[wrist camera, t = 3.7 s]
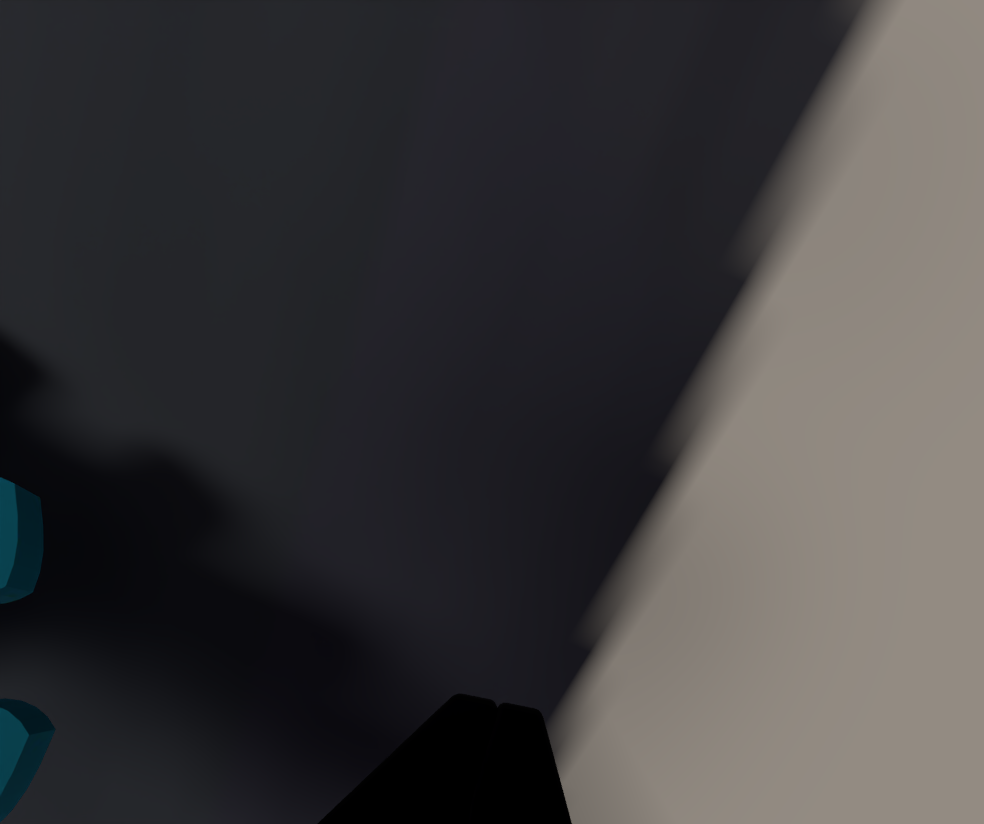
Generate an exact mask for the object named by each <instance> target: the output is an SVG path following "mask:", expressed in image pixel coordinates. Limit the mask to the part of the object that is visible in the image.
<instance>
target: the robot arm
mask: <svg viewBox="0 0 984 824" xmlns="http://www.w3.org/2000/svg"><path fill="white" fill-rule="evenodd" d="M318 824H572V823H571V819H570V815H569V812H568V808H567V804H566V800H565V797H564V793H563V789H562V785H561V782H560V778H559V774H558V770H557V767H556V763H555V759H554V755H553V752H552V748H551V744H550V740H549V737H548V733H547V729H546V725H545V722H544V718H543V716H542V714H541V712H540V711H539V710H537V709H534V708H530V707H525V706H520V705H515V704H510V703H502V704H500V705H499V706H498V708H497V706H496V704H495V702H494V701H493V700H490V699H485V698H480V697H475V696H470V695H466V694H456V695H454V696H452V697H451V698H450V699H449V700H448V701H447V702H446V703H445V704H444V705H442V706H441V707H440V708H439V709H438V710H437V711H436V712H435V713H434V714H433V715H432V716H431V717H430V718H429V719H428V720H427V721H426V722H424V723H423V724H422V725H421V726H420V727H419V728H418V729H417V730H416V731H415V732H414V733H413V734H412V735H411V736H410V737H409V738H408V739H407V740H405V741H404V742H403V743H402V744H401V745H400V746H399V747H398V748H397V749H396V750H395V751H394V752H393V753H392V754H391V755H390V756H389V757H387V758H386V759H385V760H384V761H383V762H382V763H381V764H380V765H379V766H378V767H377V768H376V769H375V770H374V771H373V772H372V773H371V774H370V775H368V776H367V777H366V778H365V779H364V780H363V781H362V782H361V783H360V784H359V785H358V786H357V787H356V788H355V789H354V790H353V791H352V792H350V793H349V794H348V795H347V796H346V797H345V798H344V799H343V800H342V801H341V802H340V803H339V804H338V805H337V806H336V807H335V808H334V809H333V810H331V811H330V812H329V813H328V814H327V815H326V816H325V817H324V818H323V819H322V820H321V821H320V822H319V823H318Z"/></svg>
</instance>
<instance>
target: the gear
mask: <svg viewBox="0 0 984 824" xmlns="http://www.w3.org/2000/svg"><path fill="white" fill-rule="evenodd" d="M43 551H44V533H43V519H42V509H41V500H40V497H38V496H36V495H35V494H33V493H31V492H29V491H27V490H25V489H24V488H22V487H20V486H18V485H16V484H14V483H12V482H10V481H7V480H5V479H3V478H0V604H3V603H9V602H12V601H15V600H19V599H21V598H23V597H25V596H27V595H29V594H31V593H33V591H34V588H35V586H36V583H37V580H38V577H39V574H40V571H41V564H42V558H43ZM54 732H55V728H54V726H53V725H52V723H51V721H50V720H49V718H48V717H47V716H46V715H45V714H44V713H42V712H41V711H40V710H39V709H38V708H37V707H35V706H33V705H30V704H28V703H26V702H23V701H20V700H13V699H0V822H1V821H2V820H3V819H4V818H5V817H6V816H7V815H8V814H9V813H10V812H11V811H12V810H13V808H14V807H15V805H16V804H17V803H18V801H19V800H20V798H21V797H22V795H23V794H24V793H25V791H26V790H27V788H28V786H29V785H30V783H31V781H32V779H33V777H34V775H35V773H36V771H37V770H38V768H39V766H40V764H41V762H42V759H43V757H44V755H45V753H46V750H47V748H48V746H49V743H50V741H51V739H52V736H53V734H54Z"/></svg>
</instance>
